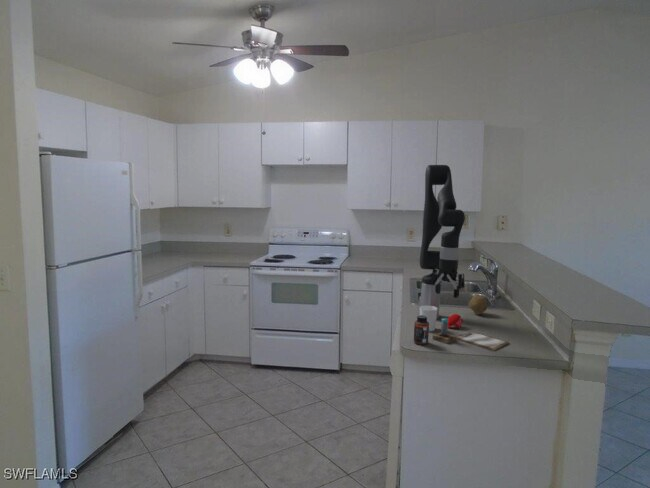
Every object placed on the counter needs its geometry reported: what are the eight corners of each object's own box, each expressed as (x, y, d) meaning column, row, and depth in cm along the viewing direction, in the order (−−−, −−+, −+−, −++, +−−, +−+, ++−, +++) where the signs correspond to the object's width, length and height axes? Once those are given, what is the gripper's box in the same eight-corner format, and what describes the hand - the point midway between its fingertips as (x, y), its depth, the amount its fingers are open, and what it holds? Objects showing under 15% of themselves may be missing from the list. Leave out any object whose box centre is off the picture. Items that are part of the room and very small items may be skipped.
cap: (456, 317, 209) (446, 311, 207) (465, 316, 204) (455, 310, 202) (451, 332, 206) (442, 327, 204) (461, 332, 201) (451, 326, 199)
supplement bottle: (428, 345, 180) (429, 319, 178) (413, 344, 181) (414, 318, 179) (427, 340, 185) (429, 314, 184) (413, 339, 186) (414, 313, 185)
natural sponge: (464, 314, 226) (466, 295, 224) (473, 310, 232) (474, 292, 230) (481, 318, 219) (483, 298, 218) (489, 314, 225) (491, 295, 224)
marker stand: (432, 339, 188) (432, 335, 187) (441, 335, 192) (442, 331, 192) (446, 343, 182) (446, 339, 182) (456, 340, 187) (456, 336, 187)
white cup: (427, 333, 195) (428, 311, 194) (414, 328, 202) (415, 306, 201) (439, 330, 200) (441, 308, 198) (427, 325, 206) (428, 304, 205)
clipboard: (454, 338, 189) (454, 336, 189) (470, 332, 197) (470, 330, 197) (493, 351, 175) (494, 348, 175) (509, 343, 184) (509, 341, 184)
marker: (439, 339, 188) (440, 319, 186) (443, 338, 189) (444, 317, 188) (444, 341, 185) (445, 320, 184) (448, 339, 187) (449, 319, 186)
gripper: (429, 256, 185) (427, 293, 188) (459, 261, 175) (456, 300, 177) (439, 254, 190) (437, 290, 192) (469, 259, 179) (466, 297, 182)
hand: (446, 295), depth 185 cm, fingers open, 8 cm apart
